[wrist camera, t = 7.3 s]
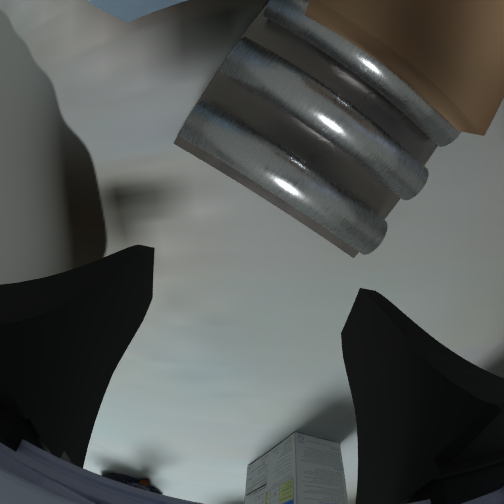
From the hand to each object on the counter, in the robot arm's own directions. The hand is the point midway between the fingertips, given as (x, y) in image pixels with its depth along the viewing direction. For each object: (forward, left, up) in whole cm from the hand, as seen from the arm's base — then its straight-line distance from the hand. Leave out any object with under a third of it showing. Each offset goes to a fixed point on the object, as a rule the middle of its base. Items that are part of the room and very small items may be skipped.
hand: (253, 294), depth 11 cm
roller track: (0, -13, -9) cm, 16 cm away
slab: (0, -17, -6) cm, 18 cm away
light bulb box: (-19, +22, -10) cm, 31 cm away
